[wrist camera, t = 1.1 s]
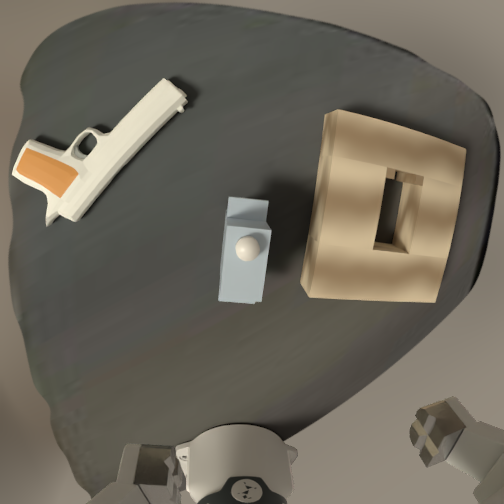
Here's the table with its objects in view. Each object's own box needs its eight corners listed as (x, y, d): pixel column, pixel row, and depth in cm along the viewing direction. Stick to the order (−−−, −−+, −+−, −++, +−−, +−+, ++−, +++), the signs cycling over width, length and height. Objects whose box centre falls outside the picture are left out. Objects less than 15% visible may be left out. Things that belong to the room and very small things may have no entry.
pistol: (124, 39, 26) (193, 103, 29) (12, 174, 29) (69, 240, 31) (118, 31, 24) (191, 98, 27) (1, 176, 26) (59, 246, 29)
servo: (250, 285, 34) (259, 325, 26) (219, 282, 34) (217, 322, 25) (262, 195, 32) (276, 208, 23) (228, 191, 31) (229, 203, 23)
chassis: (418, 289, 36) (434, 302, 33) (300, 282, 35) (309, 297, 31) (445, 148, 32) (466, 149, 28) (324, 114, 30) (338, 109, 26)
